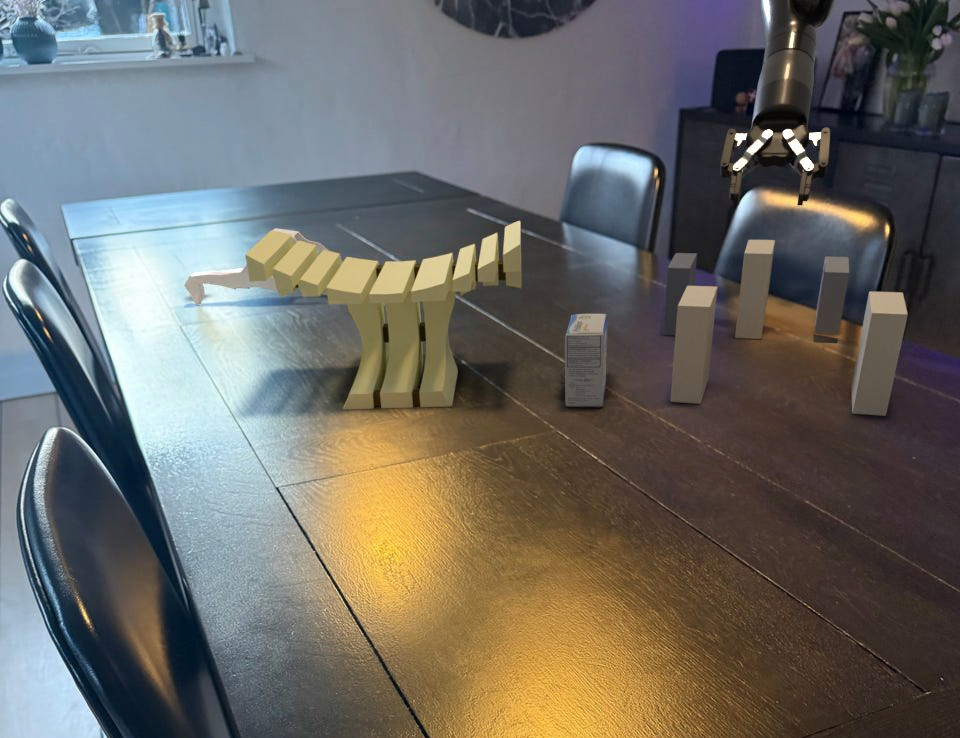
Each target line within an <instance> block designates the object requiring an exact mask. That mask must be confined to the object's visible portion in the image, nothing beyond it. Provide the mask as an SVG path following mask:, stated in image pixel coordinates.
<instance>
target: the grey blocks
mask: <svg viewBox="0 0 960 738" xmlns="http://www.w3.org/2000/svg"><path fill="white" fill-rule="evenodd" d="M849 259H850V258H849V256H828V255H827V256H824V261H823V266H822V273H821V279H820V286H819V292H818V299H817V303H816V304H817V306H816V311H815V321H814V333H813V343H825V344H827V343H828V344H838V340H839V338H837V337H831V336H826V335H837V336H838V335H840V329H841V323H842V318H843V312H844V307H845V301H846V294H847V288H848V285H849V284H848V283H849V279H850V260H849ZM697 260H698V253H695V252H694V253H691V252H689V253H688V252H687V253H686V252H676V253H674V256H673V257H672V259H671V261H670V263H669V264H668V266H667V269H666V281H665V296H664V312H663V313H664V314H663V327H662V335H663V336H671V337H673V336H674V337H675V336H676V323H677V310H678V304H679V302H680V300H681V298H682V296H683V294H684V292H685V290H686V287H687V286H696V285H695V284H696V272H697Z"/></svg>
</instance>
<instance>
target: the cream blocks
mask: <svg viewBox="0 0 960 738" xmlns="http://www.w3.org/2000/svg"><path fill="white" fill-rule="evenodd" d="M718 287H719V286H712V285H710V286H709V285H695V286H687V287H686V290H685V292H684V294H683V296H682V298H681V300H680V302H679V304H678V310H677V323H676V336H674V337H675V338H674V352H673V364H672V367H673V368H672V376H671V377H672V378H671V389H670V390H671V391H670V403H682V404H683V403H684V404H696V405H697V404H698V405H701V404H702V401H703V398H704V395H705V391H706V388H707V385H708V382H709V377H710V370H711V369H710V368H711V357H712V349H713V338H714V329H715V328H714V327H715V319H716V308H717V307H716V306H717V297H718ZM908 315H909V314H908V310H907V304H906V300H905V296H904V292H903V291H902V292H899V291H897V292H896V291H872V290H871V291H868V296H867V300H866V306H865V311H864V318H863V322H862V327H861V333H860V339H859V343H858V349H857V353H856V358H855V365H854V370H853V374H852V380H851V385H850V391H851V392H850V393H851V396H850V397H851V413H852V414H853V415H865V416H866V415H867V416H881V417H882V416H883V417H887V412H888V407H889V403H890V398H891V394H892V389H893V385H894V380H895V375H896V371H897V367H898V362H899V358H900V352H901V347H902V343H903V338H904V333H905V330H906V324H907V321H908V320H907V319H908Z"/></svg>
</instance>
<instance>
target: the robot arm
mask: <svg viewBox="0 0 960 738" xmlns="http://www.w3.org/2000/svg"><path fill="white" fill-rule="evenodd" d="M836 2H837V0H759V11H760V18H761V24H762V30H763V39H764V43H765V48H764V53H763V61H762V67H761V71H760V75H759V79H758V82H757V87H756V94H755V101H754V107H753V114H752V119H751V120H752V121H751V127H750V129H749V130H748V132H747V133H738V132H737V130H736V129H735V128H729V129H728V130H727V131H726V136H725V140H724V145H723V149H722V154H721V157H720V163H719V175H720V178H722V179H727V178H729V179H730V185H729V193H728V194H729V201H730V202H731V201H733V204H732V205H733V206H734V205H735V206H738V205H739V204H740V198H741V192H742V185H743V179H744V178H745V177H746V176H747V175H748V174H751V173H752V172H753V171H754V170H755V169H757V167H758V166H759V165H761V167H764V168H765V167H767V168H768V167H772V166H774V167H781V168H782V167H783V168H785V167H786V165H789V166H790V168H791V169H792V170H793V172H794V173H795V174H798V176H799V177H800V184H799V189H798V190H799V191H798V196H797V197H798V198H797V206H804V205H803V204H804V202H808V200H809V199H810V194H811V187H812V181H813V180H814V179H816V178H818V179H825V177H827V173H828V166H829V161H830V159H829V157H830V143H831V128H830V127H827V126H826V127H823V128H822V129H820V130H821V131H819V132H810V131H809V129H808V125H809V119H810V112H811V105H812V99H813V94H814V93H813V91H814V82H815V64H816V55H817V51H818V50H817V49H818V41H819V39H818V37H819V36H818V32H817V28H819V27H821V26H823V25H824V24H825V23H826V22H827V20H828V19H829V18H830V16H831V14H832V13H833V10H834V8H835V5H836ZM809 144H810V145H812V149H813V150H814V151H815V152H818V154H817V155H818V156H817V162H815V163H813V162H812V160H810V158H809V156H807V151H806V150H805V149H806V148H808V146H809ZM743 145H745V146H746V148H747V149H745V151H744V153H743V154H742V156H741V157H740V158H739V159H738V160H737V161H736V162H735V163H733V158H734V154H735V153H737V152H738V151H739V150H740V149H741V147H742V146H743Z"/></svg>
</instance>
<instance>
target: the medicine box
mask: <svg viewBox="0 0 960 738" xmlns="http://www.w3.org/2000/svg"><path fill="white" fill-rule="evenodd" d="M607 344H608V314H607V313H577V314H572V315H571V316H570V319H569V323H568V327H567V330H566V333H565V337H564V392H565V394H564V395H565V396H564V397H565V406H566V407H568V408H569V407H570V408H602V407H603V406H604V399H605V392H606V385H607V352H608V351H607V349H608V345H607Z"/></svg>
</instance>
